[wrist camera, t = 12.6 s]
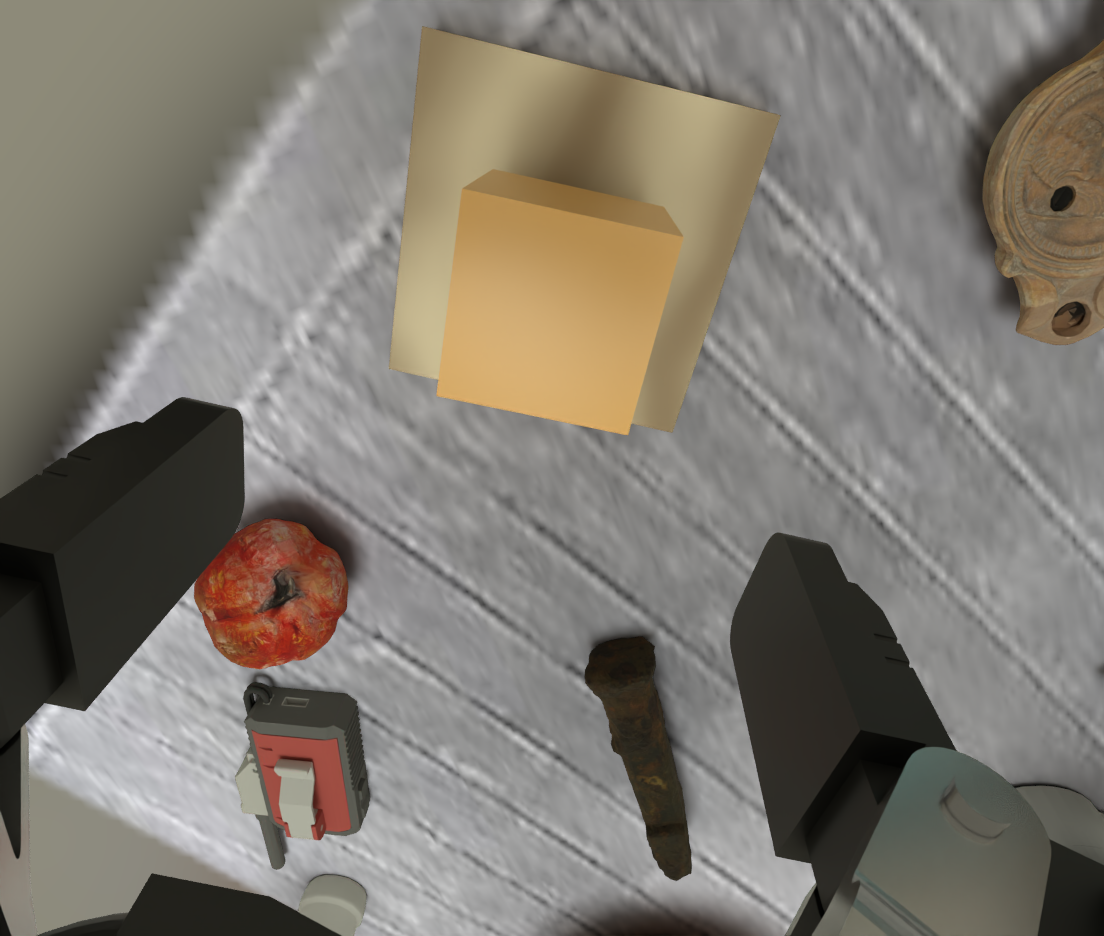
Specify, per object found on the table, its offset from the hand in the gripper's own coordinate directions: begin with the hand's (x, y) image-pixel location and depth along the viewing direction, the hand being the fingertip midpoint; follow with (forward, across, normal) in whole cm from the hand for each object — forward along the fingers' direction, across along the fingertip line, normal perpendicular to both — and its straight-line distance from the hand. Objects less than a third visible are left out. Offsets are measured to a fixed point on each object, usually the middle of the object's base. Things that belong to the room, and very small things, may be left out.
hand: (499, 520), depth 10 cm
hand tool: (+22, -12, +29) cm, 38 cm away
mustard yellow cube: (+16, 0, 0) cm, 16 cm away
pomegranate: (+21, +11, +20) cm, 31 cm away
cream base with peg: (+21, 0, 0) cm, 21 cm away
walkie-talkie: (+22, +10, +40) cm, 46 cm away
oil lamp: (+22, -18, -7) cm, 29 cm away
